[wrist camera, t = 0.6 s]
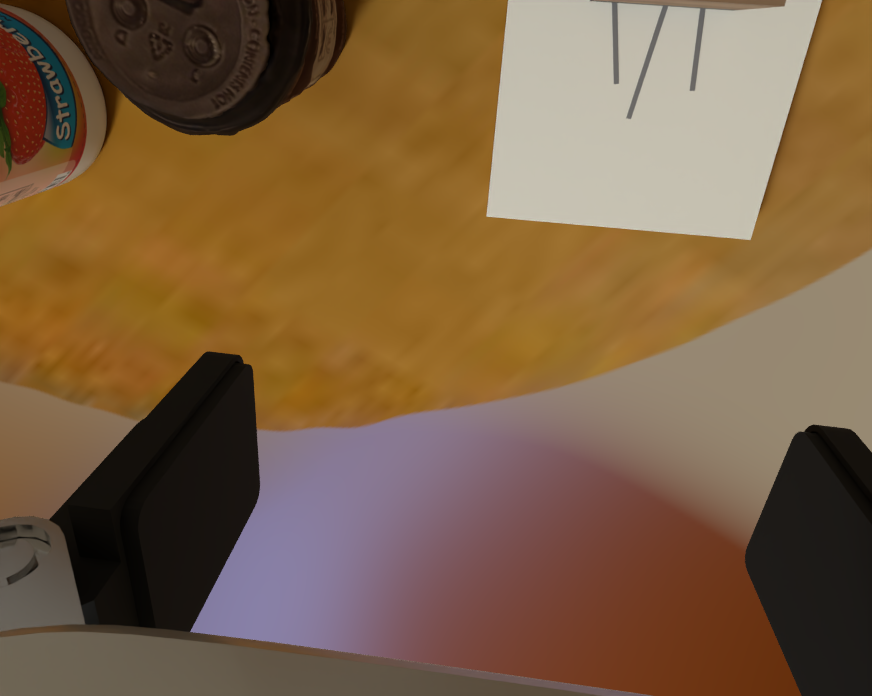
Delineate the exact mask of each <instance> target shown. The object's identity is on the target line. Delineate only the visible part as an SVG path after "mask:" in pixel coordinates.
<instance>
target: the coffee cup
mask: <svg viewBox="0 0 872 696" xmlns="http://www.w3.org/2000/svg"><path fill="white" fill-rule="evenodd" d="M65 1H66V5H67V9H68V13H69V17H70V21H71V24H72V26H73V28H74V30H75V33H76V35H77V37H78V39H79V41H80V43H81V44H82V46H83V47H84V49H85V51H86V54H87V55H88V57H89V58H90V60H91V61H92V63H93V64H94V65H95V66H96V67H97V68H98V69H99V70H100V71H101V72H102V73H103V74H104V76H105V77H106V78H107V79H108V80H109V81H110V82H111V83H112V84H113V85H115V86H116V87H117V88H118V89H119V90H120V91H121V92H122V93H123V94H124V96H125V97H126V98H128V99H129V100H130V101H131V102H132V103H133V104H134V105H136V106H137V107H138V108H139V109H141V110H142V111H143V112H144V113H145V114H147V115H148V116H150V117H151V118H153V119H155V120H157V121H158V122H161V123H163V124H164V125H166V126H168V127H170V128H172V129H174V130H176V131H179V132H182V133H185V134H189V135H211V134H217V135H229V136H231V135H235V134H236V133H238V132H239V131H241V130H244V129H246V128H249V127H252V126H254V125H256V124H258V123H260V122H261V121H263V120H265V119H266V118H267V117H268V116H269V115H270V114H271V113H272V112H273V111H274V110H275V109H276V108H278V107H279V106H281V105H282V104H284V103H286V102H289V101H290V99H292V98H294V97H295V96H297V95H299V94H301V93H302V91H303V90H304V89H307V88H309V87H311V86H312V85H314V84H315V83H316V82H317V81H318V80H319V79H320V78H321V77H323V76H324V75H326V74H327V73H328V72H329V71H330V70H331V69H332V68H333V66H334V64H335V63H336V61H337V59H338V57H339V55H340V53H341V51H342V50H343V47H344V44H345V40H346V32H347V23H346V14H345V8H344V2H343V0H65Z"/></svg>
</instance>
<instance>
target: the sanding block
mask: <svg viewBox="0 0 872 696" xmlns="http://www.w3.org/2000/svg"><path fill="white" fill-rule="evenodd" d="M590 1H596V2H611V3H626V4H641V5H656V6H671V7H686V8H701V9H716V10H731V11H735V10H747V9H759V8H771V7H783V6H785V3H786V0H590Z"/></svg>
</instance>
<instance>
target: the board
mask: <svg viewBox="0 0 872 696" xmlns="http://www.w3.org/2000/svg"><path fill="white" fill-rule="evenodd" d="M821 2H822V0H786V3H785V6H783V7H771V8H759V9H747V10H735V11H731V10H716V9H701V8H686V7H671V6H656V5H641V4H626V3H611V2H596V1H590V0H508V8H507V18H506V28H505V38H504V48H503V58H502V68H501V78H500V88H499V98H498V108H497V118H496V128H495V138H494V148H493V158H492V168H491V178H490V188H489V198H488V208H487V217H498V218H509V219H520V220H532V221H543V222H555V223H566V224H577V225H589V226H600V227H612V228H623V229H634V230H646V231H657V232H669V233H680V234H691V235H703V236H714V237H725V238H737V239H748V240H751V236H752V233H753V230H754V226H755V223H756V220H757V216H758V213H759V210H760V206H761V203H762V200H763V196H764V193H765V189H766V186H767V183H768V179H769V176H770V173H771V169H772V166H773V163H774V159H775V156H776V153H777V149H778V146H779V143H780V139H781V136H782V133H783V129H784V126H785V123H786V119H787V116H788V113H789V109H790V106H791V103H792V99H793V96H794V93H795V89H796V86H797V82H798V79H799V76H800V72H801V69H802V66H803V62H804V59H805V56H806V52H807V49H808V46H809V42H810V39H811V36H812V32H813V29H814V26H815V22H816V19H817V16H818V12H819V9H820V6H821Z"/></svg>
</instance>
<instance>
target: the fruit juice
mask: <svg viewBox="0 0 872 696" xmlns="http://www.w3.org/2000/svg"><path fill="white" fill-rule="evenodd" d="M106 126H107V114H106V105H105V100H104V96H103V92H102V89H101V86H100V84H99V81H98V79H97V76H96V74H95V72H94V70H93V69H92V67H91V65H90V63H89V62H88V60H87V59H86V57H85V56H84V54H83V53H82V52H81V51H80V49H79V48H78V47H77V46H76V45H75V43H74V42H73V41H72V40H71V39H70V38H69V37H68V36H67V35H65V34H64V33H63V32H62V31H61V30H60V29H58V28H57V27H56V26H54V25H53V24H52V23H50V22H48V21H47V20H45V19H43V18H42V17H40V16H38V15H36V14H34V13H31V12H29V11H27V10H24V9H21V8H18V7H14V6H9V5H5V4H0V206H3V205H6V204H9V203H12V202H14V201H17V200H20V199H23V198H26V197H28V196H31V195H34V194H37V193H40V192H42V191H45V190H48V189H51V188H54V187H56V186H59V185H62V184H65V183H67V182H69V181H71V180H72V179H74V178H76V177H77V176H79V175H80V174H82V173H83V172H84V171H86V170H87V169H88V168H89V167H90V165H91V164H92V163H93V162H94V160H95V159H96V158H97V156H98V154H99V152H100V150H101V148H102V145H103V142H104V139H105V134H106Z"/></svg>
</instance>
